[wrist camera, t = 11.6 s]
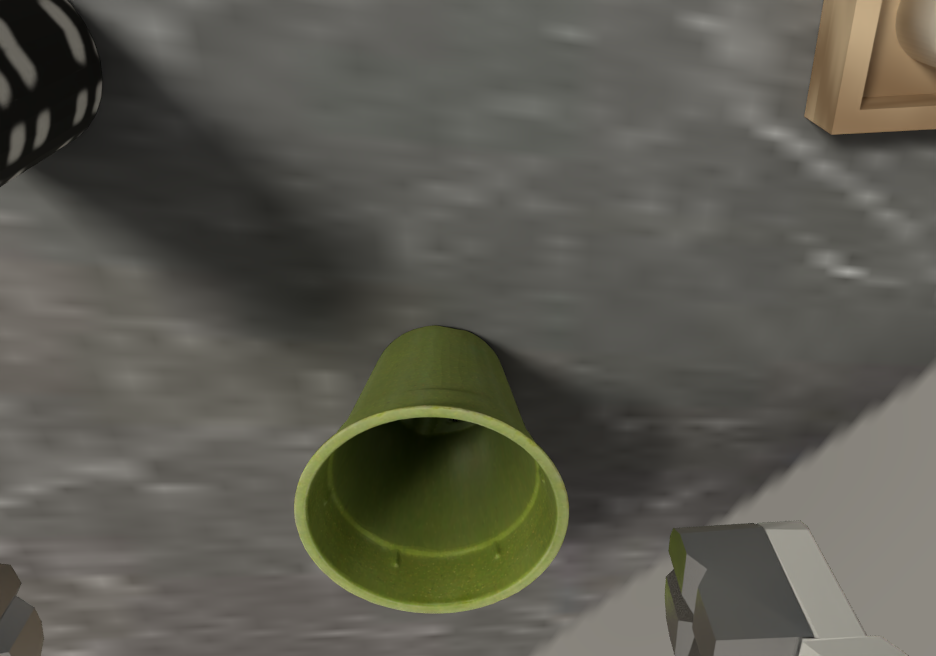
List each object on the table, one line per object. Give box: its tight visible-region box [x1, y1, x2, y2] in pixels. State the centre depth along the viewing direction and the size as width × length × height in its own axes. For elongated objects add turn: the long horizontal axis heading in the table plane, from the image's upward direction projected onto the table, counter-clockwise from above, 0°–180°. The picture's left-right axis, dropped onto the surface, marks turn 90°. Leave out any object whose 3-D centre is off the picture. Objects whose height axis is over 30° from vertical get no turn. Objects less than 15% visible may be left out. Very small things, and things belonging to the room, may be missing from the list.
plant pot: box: [294, 326, 569, 613], centre depth 37 cm, size 12×12×11 cm
